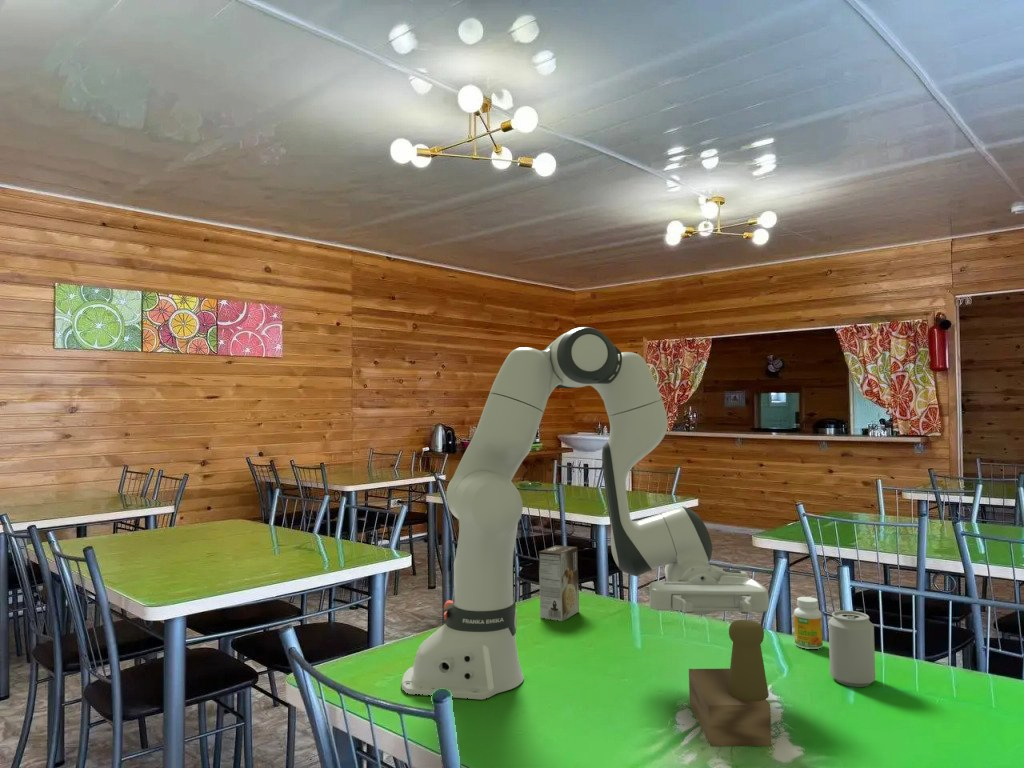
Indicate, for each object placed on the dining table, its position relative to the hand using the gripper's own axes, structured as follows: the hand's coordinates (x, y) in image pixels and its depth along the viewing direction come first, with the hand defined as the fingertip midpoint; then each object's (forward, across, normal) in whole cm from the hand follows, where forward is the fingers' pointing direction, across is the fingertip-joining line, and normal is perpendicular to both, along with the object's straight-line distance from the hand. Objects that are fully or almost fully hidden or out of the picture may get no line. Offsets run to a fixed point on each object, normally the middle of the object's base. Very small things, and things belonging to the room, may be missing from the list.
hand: (717, 608), depth 120 cm
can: (-14, +28, +17) cm, 35 cm away
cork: (+7, +3, +11) cm, 14 cm away
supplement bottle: (-33, +27, +17) cm, 46 cm away
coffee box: (-57, -24, +18) cm, 65 cm away
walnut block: (+4, +1, +17) cm, 18 cm away
